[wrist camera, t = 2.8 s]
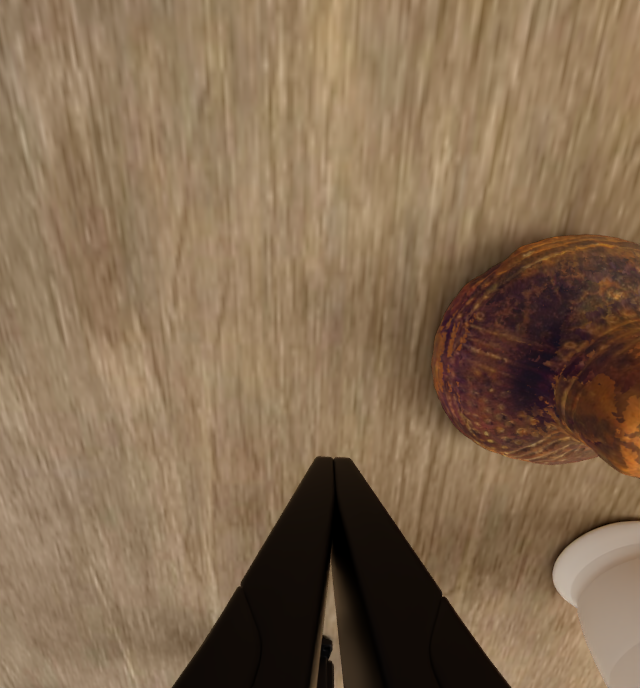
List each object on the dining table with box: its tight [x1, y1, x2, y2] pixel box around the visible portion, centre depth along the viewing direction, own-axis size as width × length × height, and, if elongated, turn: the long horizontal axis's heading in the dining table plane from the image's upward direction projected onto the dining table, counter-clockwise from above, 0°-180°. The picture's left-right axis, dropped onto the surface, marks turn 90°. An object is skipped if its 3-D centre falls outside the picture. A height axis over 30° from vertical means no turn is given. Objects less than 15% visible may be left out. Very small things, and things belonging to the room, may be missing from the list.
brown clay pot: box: [431, 235, 640, 479], centre depth 12 cm, size 12×12×7 cm
